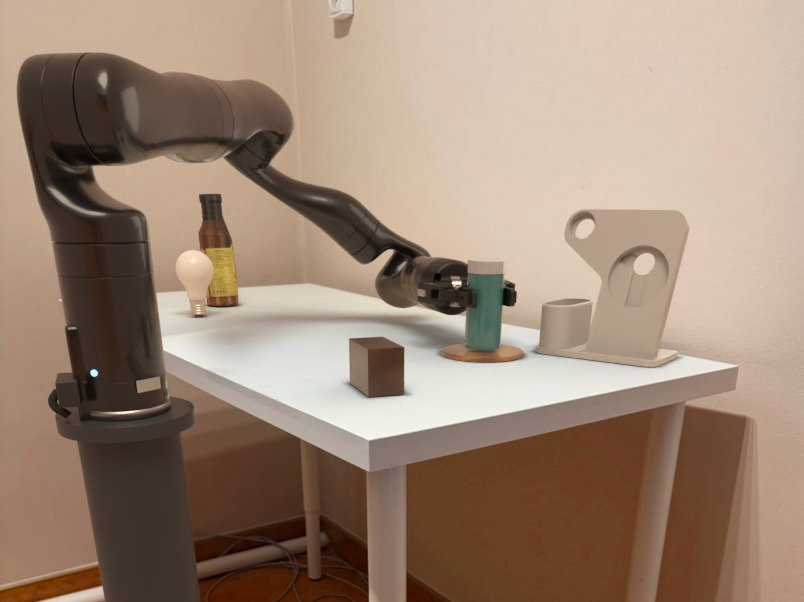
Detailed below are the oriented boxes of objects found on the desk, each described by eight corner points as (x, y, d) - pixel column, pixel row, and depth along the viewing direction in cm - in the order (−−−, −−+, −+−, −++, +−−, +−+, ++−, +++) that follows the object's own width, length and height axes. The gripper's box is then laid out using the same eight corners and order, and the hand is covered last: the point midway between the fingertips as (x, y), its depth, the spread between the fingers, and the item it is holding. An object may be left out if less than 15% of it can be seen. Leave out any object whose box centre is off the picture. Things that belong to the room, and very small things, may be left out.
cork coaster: (461, 364, 96) (461, 359, 96) (429, 349, 105) (429, 345, 105) (538, 359, 99) (538, 354, 99) (500, 345, 109) (500, 341, 109)
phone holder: (529, 352, 104) (540, 208, 97) (562, 342, 112) (574, 208, 104) (653, 367, 95) (676, 210, 87) (680, 356, 102) (703, 210, 95)
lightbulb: (188, 320, 129) (181, 251, 125) (175, 315, 134) (167, 249, 129) (223, 317, 133) (217, 250, 128) (209, 313, 137) (203, 248, 133)
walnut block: (368, 397, 79) (367, 349, 77) (349, 383, 85) (348, 338, 83) (404, 394, 81) (404, 346, 79) (383, 381, 87) (383, 336, 85)
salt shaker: (494, 312, 92) (470, 239, 96) (465, 365, 102) (444, 297, 106) (530, 311, 94) (505, 239, 97) (497, 363, 104) (476, 296, 107)
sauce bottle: (245, 305, 149) (237, 193, 141) (221, 308, 144) (211, 193, 136) (222, 302, 152) (212, 193, 144) (198, 305, 147) (186, 193, 139)
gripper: (485, 309, 115) (540, 326, 101) (396, 313, 111) (441, 331, 96) (487, 257, 112) (545, 266, 98) (396, 258, 108) (443, 269, 93)
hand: (493, 298), depth 97 cm, fingers closed on salt shaker, 4 cm apart
